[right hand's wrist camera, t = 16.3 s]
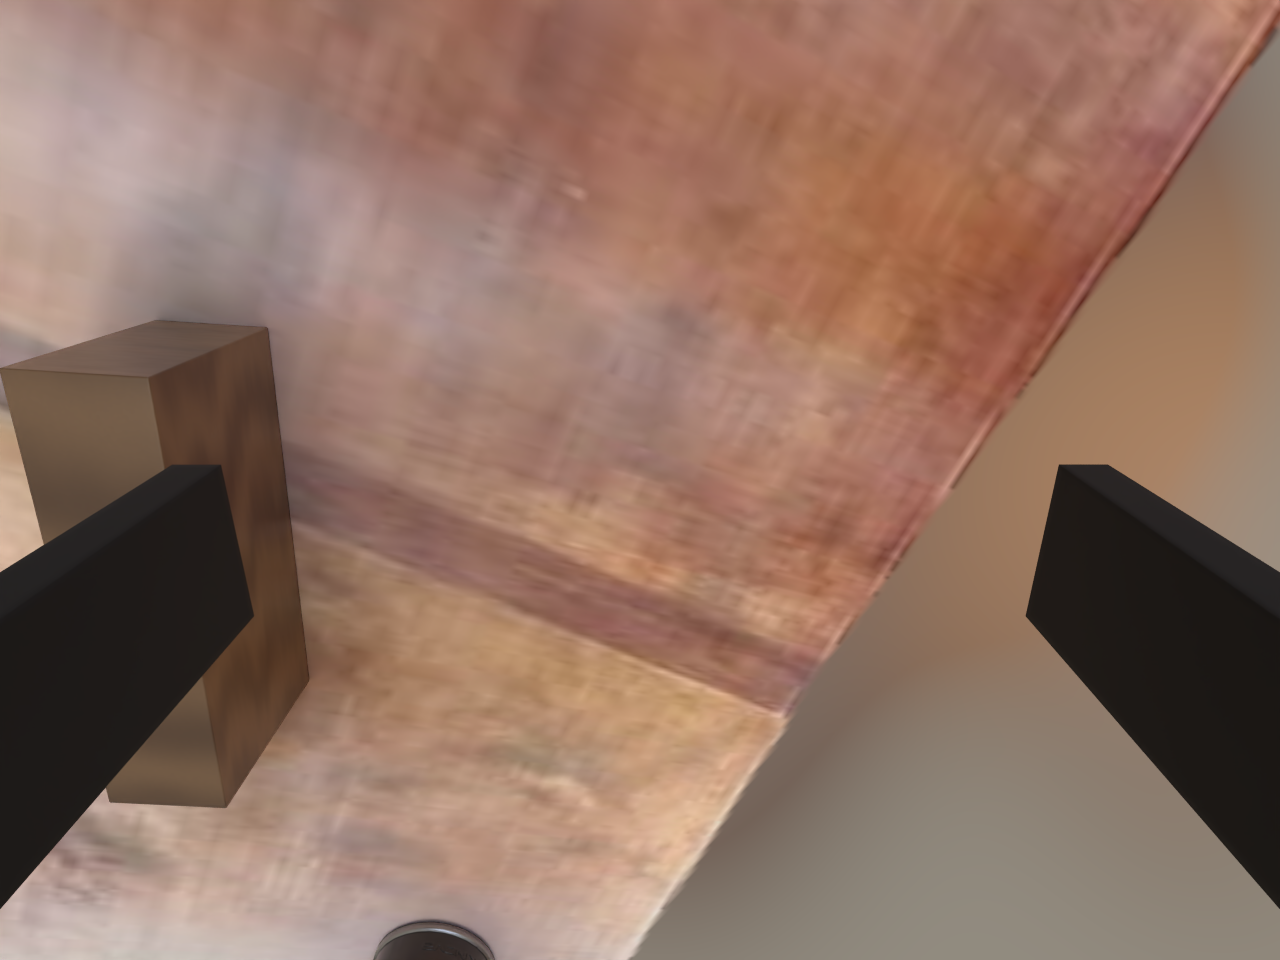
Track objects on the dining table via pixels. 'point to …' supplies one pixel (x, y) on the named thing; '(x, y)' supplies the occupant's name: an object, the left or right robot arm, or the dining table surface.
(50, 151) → the dining table surface
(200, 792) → the box
